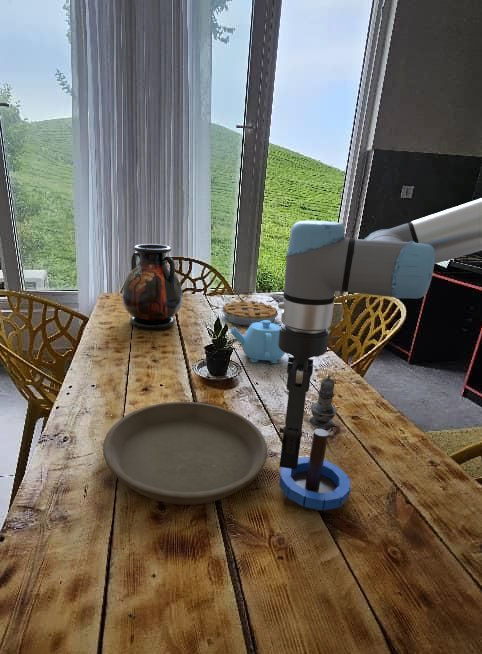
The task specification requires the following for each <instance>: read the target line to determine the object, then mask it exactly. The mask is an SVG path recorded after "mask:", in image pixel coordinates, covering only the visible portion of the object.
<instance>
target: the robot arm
mask: <svg viewBox="0 0 482 654" xmlns="http://www.w3.org/2000/svg"><path fill="white" fill-rule="evenodd" d="M481 251H482V197H480V198H478V199H475V200H472V201H469V202H466V203H463V204H460V205H458V206H454V207H451V208H447V209H445V210H442V211H439V212H436V213H433V214H430V215H427V216H424V217H421V218H418V219H415V220H412V221H410V222H407V223H403V224H400V225H397V226H394V227H392V228H391V227H390V228H381V229H379V230H376V231H373V232H371V233H369V235H368V236H366V237H364V239H362V238H360V239H359V238H352V237H351V238H350V237H347V236H346V233H345V226H344V225H343V224H342V223H341V222H336V221H327V220H300V221H297V222H295V223H294V224H293V225H292V226H291V228H290V234H289V239H288V246H287V252H286V255H285V256H286V261H285V272H284V282H283V283H284V285H283V293H282V294H283V295H282V297H283V299H282V302H279V303H278V305H277V308H278V309H280V310H282V311H281V315H280V316H281V317H280V322H281V323H282V324H281V325H279V326H280V332H279V342H278V346H279V348H280V349H281V350H282V351H283V352H285V354H287V355H291V356H288V359H287V365H286V374H287V378H286V379H287V380H286V390H287V391H288V395H287V403H286V413H285V422H284V427H282V428H281V427H279V430H278V433H280V434H282V439H281V441H282V442H281V450H280V459H279V468H281V467H284V468H290V469H296V470H297V465H298V458H300V457H299V455H300V449H301V443H302V442H301V440H302V436H303V424H304V423H303V422H304V414H305V406H306V397H307V393H308V392H309V390H310V384H311V377H312V376H313V372H314V359H313V358H317V357H321V356H323V355H325V354H326V353H327V351H328V346H329V340H330V329H329V328H331V326H332V322H333V314H334V307H335V295H336V292H342V293H352V294H361V295H371V296H378V297H387V298H394V299H396V300H399V299H414V300H415V299H421V298H423V297H424V296H425V295H426V294H427V293H428V291H429V288H430V286H431V282H432V279H433V274H434V268H435V265H436V264H439V263H443V262H447V261H449V260H453V259H456V258H460V257H463V256H467V255H471V254H474V253H478V252H481Z"/></svg>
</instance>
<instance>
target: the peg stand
mask: <svg viewBox="0 0 482 654" xmlns="http://www.w3.org/2000/svg"><path fill="white" fill-rule="evenodd" d="M328 440H329V432H328V431H327V430H326V429H324V428H315V429H314V430H313V434H312V440H311V446H310V453H309V457H310V458H309V465H308V471H305V472H299V473H296V474H295V475H294V476H292V479H293V480H294V481H295V483H296V484H297V485H299V486H300V487H302V488H304V489H306V490H308V491H312V492H317V493H326V492H332V491H334V490H335V489H336V488H337V486H336V484H335V483H334V482H333V481H332V480H331V479H330V478H328V477H326V476H324V475H322V469H323V463H324V460H325V458H326V457H325V456H326V452H327V445H328ZM283 505H284V506H287V507H288V506H289V507H293V508H299V509H303V510H309V511H315V512H319V513H325V514H330V515H334V516H339V513H340V509H341V508H340V506H339V508H334V509H328V510H323V509H322V510H318V509H313V508H308V507H304V506H301V505H300V504H298V503H296V502H295V501H293V500H291V499H289V498H288V497H287V496H286V495H285V494H284V499H283Z"/></svg>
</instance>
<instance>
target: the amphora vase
mask: <svg viewBox="0 0 482 654" xmlns="http://www.w3.org/2000/svg"><path fill="white" fill-rule="evenodd" d="M133 250H134V251H135V252H134V253H132V256H131V260H130V265H131V270H130V272H129V273H128V275H127V277H126V279H125V281H124V284H123V287H122V293H121V300H122V304H123V307H124V308H125V310H126V312H127V313H128V314H129V315H130V316H131V317H130V319H129V323H130V324H131V325H132V327H135V328H137V329H140V330H145V331H160V330H161V331H162V330H166V329H169V328H171V327H173V326H174V325H175V323H176V319H175V317H174V316H175V315H176V314H177V313H178V312H179V310H180V309H181V307H182V304H183V290H182V289H183V288H182V285H181V282H180V279H179V278H178V276H177V274H176V265H175V261H174V259H173V257H170V256H166V255H167V254H168V253H170V252H172V247H170V246H169V245H166V244H158V243H144V244H143V243H142V244H137V245H135V246H133ZM138 258H139V262H138V263H137V260H138ZM167 263H168V264H169V265H168V264H167Z"/></svg>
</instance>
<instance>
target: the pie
mask: <svg viewBox="0 0 482 654" xmlns="http://www.w3.org/2000/svg"><path fill="white" fill-rule="evenodd" d="M221 311H222V313H223V314H224V316H225V318H226V320H227V321H228V322H230V323H232V324H234V325H238V326H239V325H241V326H247V327H250V325H251V324H252V323H256V322H261V321H263V320H269V321H271V323H274V321H275V319H276V317H278V316H279V313H278V312H279V311H278V309H277V308H276V307H273V306H272V305H271V304H265V303H264V302H262V301H260V302H256V301H245V300H244V301H243V300H240V301H238V302H236V301H232V302H231V303H230V302H226V303H225V305H222V309H221Z"/></svg>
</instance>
